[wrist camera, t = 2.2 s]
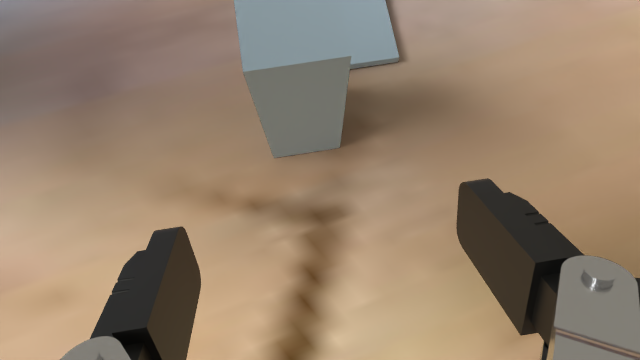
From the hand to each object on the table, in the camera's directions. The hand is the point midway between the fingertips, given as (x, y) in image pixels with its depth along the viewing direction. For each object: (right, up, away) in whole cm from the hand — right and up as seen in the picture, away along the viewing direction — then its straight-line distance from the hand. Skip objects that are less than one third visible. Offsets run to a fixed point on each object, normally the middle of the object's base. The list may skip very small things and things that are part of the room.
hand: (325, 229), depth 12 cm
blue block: (-1, +5, +16) cm, 17 cm away
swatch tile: (+1, +13, +18) cm, 22 cm away
